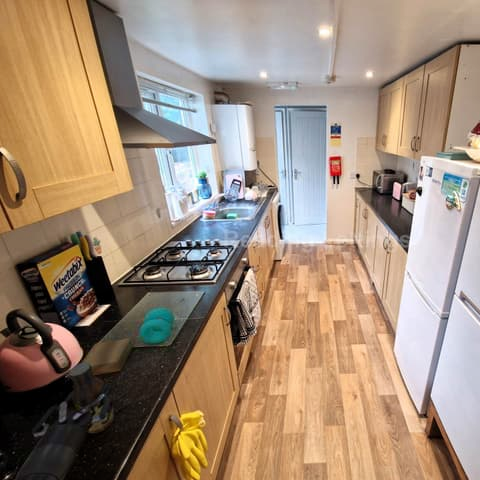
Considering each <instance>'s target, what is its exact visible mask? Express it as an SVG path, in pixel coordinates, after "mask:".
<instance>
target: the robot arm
mask: <svg viewBox="0 0 480 480" xmlns="http://www.w3.org/2000/svg"><path fill="white" fill-rule="evenodd" d="M112 391H113V387H112V384H111V383H110V382H107V383H104V387H103V389H102V391H101V393H100V394H99V397H98V398H97V399H96V400H94V401H93V402H90V403H89V404H88V405H87V406H86V407H85V408H82V409H79V410H76V409H73V410H71V408H73V407H74V406H75V405H74V403H73V400H72V397H73V392H74V389H73V390H72V391H71V392H69V394H68V395H67V396H66V398H65V400H64V401H63V402H61V403H60V405H57V406H56V405H53V406H51V407H50V408H49V409H48V410H47V411H46V412H45V413H44V415H43V416H42V417H41V418H40V420H39V421H38V422H37V423H36V424H35V426H34V427H33V428H32V429H31V433H32V435H33V437H34V438H35V439H36V440H38V439H39V440H38V442H37V443H36V445H35V446H34V447H33V449H32V451H31V453H30V454H29V456H28V457H27V459H26V460H25V462H24V463H23V464H22V465H21V467H20V469H19V471H18V472H17V474H16V477H15V479H14V480H64V479H65V477H66V476H67V474H68V473H69V471H70V468H71V466H72V464H73V463H74V461H75V459H76V456H78V453H79V451H80V449H81V447H82V446H83V443H84V442H85V439H86V438H87V437H86V436H87V433H88V432H87V431H88V430H89V429H90V428H91V427H92V426H93V424H96V423H100V422H101V423H102V424H106V423H107V422H108V420H109V417H110V414H111V411H112V408H113V409H114V405H115V401H114V400H115V399H114V398H113V395H112V394H111V393H112ZM99 402H100V404H99V405H97V404H98V403H99ZM101 408H102V409H101ZM90 409H91V411H92V412H91V413H90V411H89V410H90ZM100 409H101V411H100ZM97 414H98V415H97ZM96 415H97V416H96ZM95 416H96V417H95ZM94 417H95V418H94ZM57 418H58V419H57ZM56 419H57V420H56Z"/></svg>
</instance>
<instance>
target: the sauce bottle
mask: <svg viewBox="0 0 480 480" xmlns="http://www.w3.org/2000/svg"><path fill="white" fill-rule="evenodd" d="M68 376H69V378H70V379H71V380H72V383H73V390H74V392H73V391H72V392H73V397H72V400H73V403H74V405H73V406H74V407H75V410H79V409H82V408H85V407H86V406H87V405H88V404H89V403H90V402H93V401H94V400H96V399H97V398H98V397H99V394H100V393H101V391H102V389H103V387H104V385H105V383H104V381H103V380H102V379H101V378H99V377H97V376H96V375H93V373H92V367H91V364H90V363H87V362H86V363H82V362H81V363H78V364H76V365H75V366H73V367H72V368H70V370H69V372H68ZM99 404H100V402H99V403H98V404H97V405H99ZM101 409H102V408H101ZM101 409H100V411H101ZM89 411H90V413H91V412H92V411H91V409H90V410H89ZM114 411H115V410H114V407H113V408H112V411H111V414H110V417H109V420H108V422H107V423H106V424H102V423H101V422H100V423H96V424H93V426H92V427H91V428H90V429H89V430H88V431H87V433H88V434H97V433H100V432H102V431H104V430H106V429H107V428H108V427H110V426H111V425H112V423H113V421H114V420H115V412H114ZM97 415H98V414H97ZM97 415H96V416H97ZM96 416H95V417H96ZM95 417H94V418H95Z"/></svg>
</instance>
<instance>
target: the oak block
mask: <svg viewBox="0 0 480 480" xmlns="http://www.w3.org/2000/svg"><path fill="white" fill-rule="evenodd" d="M133 349H134V345H133V341H132V339H131V337H129V338H124V339H117V340H110V341H104V342H98V343H97V342H96V343H94V344H93V345H92V347H91V349H90V350H89V352H87V354H86V356H85V357H84V359H83V360H82V361H81V363H86V362H87V363H90V364H91V367H92V373H93V375H94V376H98V375H105V374H110V373H115V372H121V371H122V370H123V367H124V366H125V364H126V362H127V360H128V357H129V356H130V354H131V353H132V350H133Z"/></svg>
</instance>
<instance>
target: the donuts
mask: <svg viewBox="0 0 480 480" xmlns="http://www.w3.org/2000/svg"><path fill="white" fill-rule="evenodd" d="M174 322H175V316H174V313H173V312H172V311H171V310H169V309H168V308H164V307H156V308H154V309H152V310H149V311H148V312H147V313H146V314H145V317H144V323H143V324H142V325H141V327H140V328H139V336H140V338H141V339H142V340H143V341H144V342H145V343H149V344H160V343H162V342H164V341H166V340H167V339H169V337H170V336H171V333H172V325H173V324H174Z"/></svg>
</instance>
